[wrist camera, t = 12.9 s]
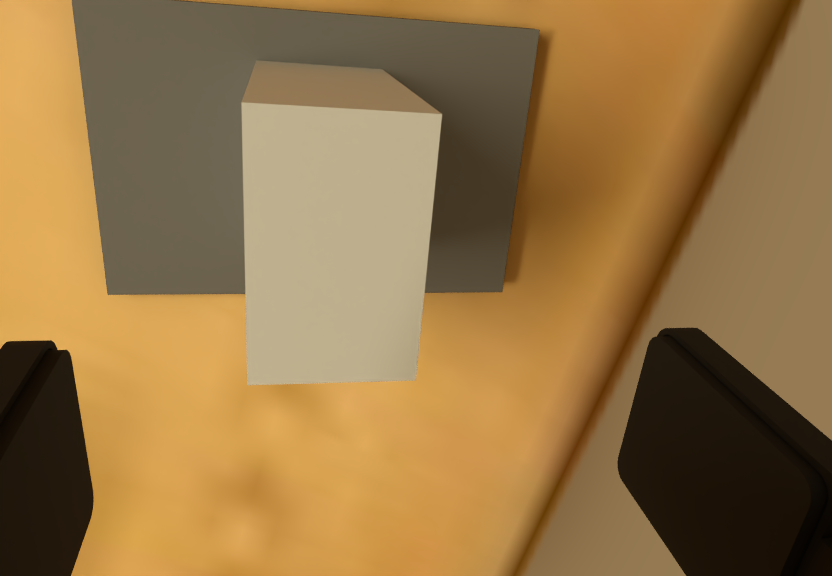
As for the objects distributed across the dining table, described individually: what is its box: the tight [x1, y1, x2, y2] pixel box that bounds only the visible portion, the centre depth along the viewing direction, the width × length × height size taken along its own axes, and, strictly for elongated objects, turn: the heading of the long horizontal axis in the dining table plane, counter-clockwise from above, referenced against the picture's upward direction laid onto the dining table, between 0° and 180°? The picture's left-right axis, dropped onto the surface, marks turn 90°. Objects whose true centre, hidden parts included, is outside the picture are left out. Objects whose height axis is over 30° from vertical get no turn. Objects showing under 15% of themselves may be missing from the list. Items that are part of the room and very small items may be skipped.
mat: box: [72, 0, 540, 295], centre depth 28 cm, size 12×18×1 cm, turn 85°
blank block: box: [241, 60, 442, 385], centre depth 23 cm, size 8×5×11 cm, turn 175°
